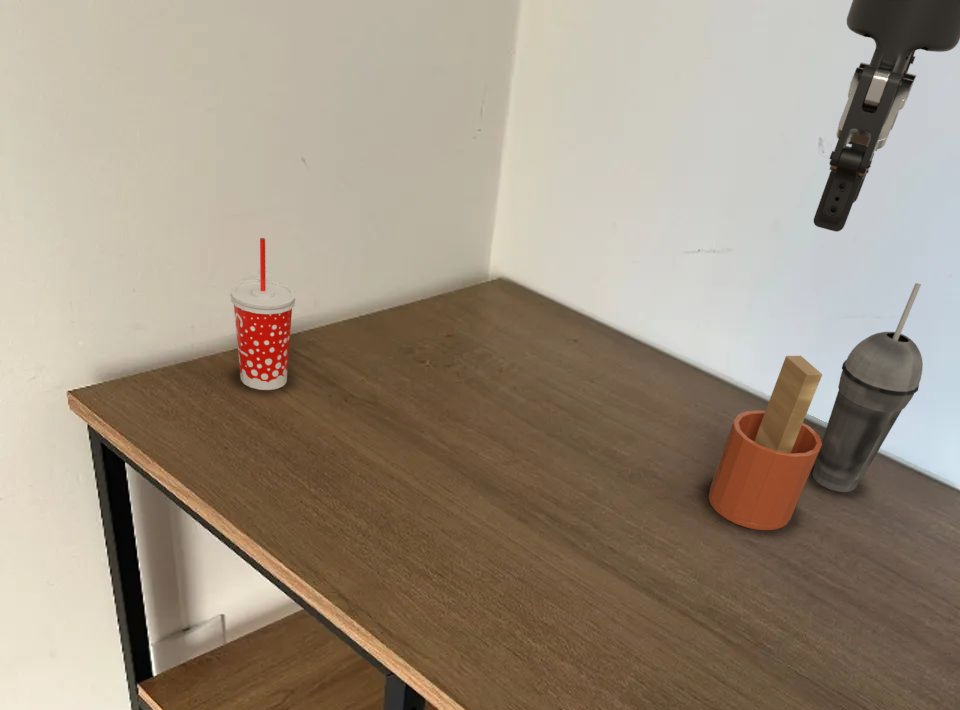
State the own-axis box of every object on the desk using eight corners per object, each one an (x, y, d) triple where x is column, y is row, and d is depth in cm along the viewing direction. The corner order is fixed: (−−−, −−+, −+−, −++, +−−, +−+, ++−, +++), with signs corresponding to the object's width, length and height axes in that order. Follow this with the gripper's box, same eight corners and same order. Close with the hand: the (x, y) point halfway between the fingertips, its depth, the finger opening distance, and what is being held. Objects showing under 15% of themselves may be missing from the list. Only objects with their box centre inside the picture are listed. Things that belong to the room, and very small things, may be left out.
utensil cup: (763, 481, 96) (791, 409, 91) (806, 527, 91) (838, 454, 86) (694, 485, 94) (718, 411, 89) (733, 533, 88) (762, 457, 83)
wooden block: (749, 490, 93) (801, 355, 84) (767, 510, 91) (823, 374, 82) (735, 491, 93) (785, 355, 84) (753, 511, 90) (807, 374, 81)
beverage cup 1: (240, 361, 100) (236, 222, 90) (299, 370, 100) (302, 232, 91) (226, 388, 95) (220, 245, 86) (288, 397, 95) (289, 256, 86)
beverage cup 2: (799, 488, 96) (881, 293, 83) (798, 454, 102) (875, 265, 88) (871, 507, 95) (966, 312, 82) (867, 471, 101) (955, 283, 88)
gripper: (987, -25, 56) (874, 253, 67) (989, -39, 67) (891, 204, 77) (859, -51, 58) (769, 224, 69) (881, -61, 68) (800, 180, 79)
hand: (834, 213), depth 73 cm, fingers open, 8 cm apart
